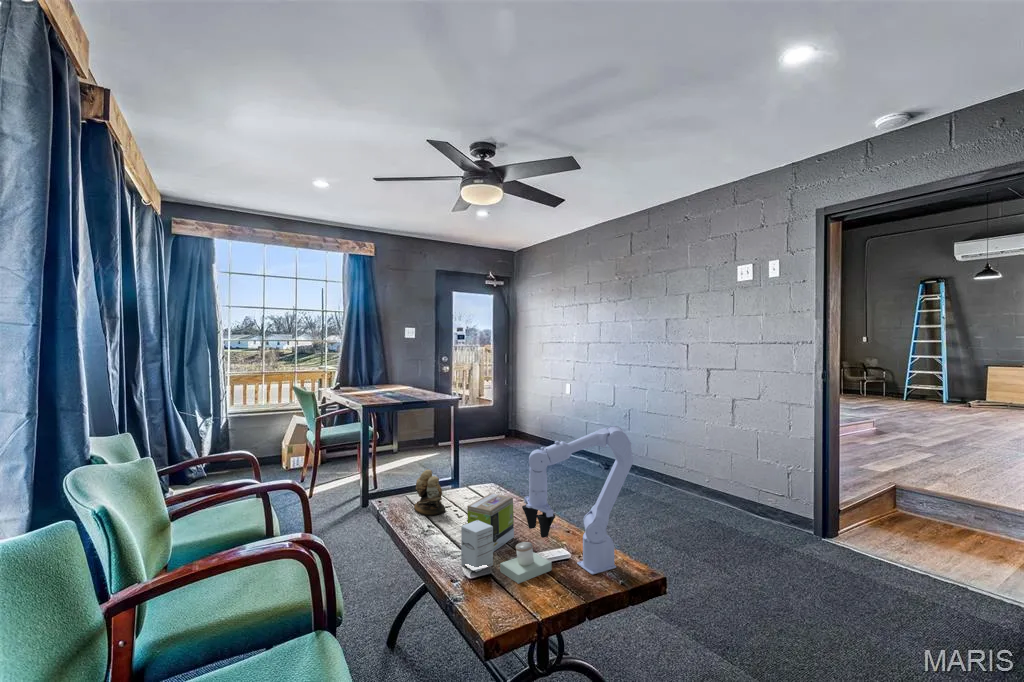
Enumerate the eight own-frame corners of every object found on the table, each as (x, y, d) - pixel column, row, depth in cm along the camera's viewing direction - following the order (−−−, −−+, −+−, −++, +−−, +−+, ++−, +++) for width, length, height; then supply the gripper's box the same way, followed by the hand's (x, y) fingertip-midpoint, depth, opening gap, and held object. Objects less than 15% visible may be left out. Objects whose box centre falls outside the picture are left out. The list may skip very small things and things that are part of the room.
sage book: (532, 560, 153) (532, 551, 153) (551, 571, 146) (551, 562, 146) (499, 572, 145) (499, 563, 145) (518, 585, 138) (518, 575, 138)
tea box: (491, 532, 174) (491, 492, 174) (514, 538, 169) (514, 496, 169) (466, 547, 162) (466, 504, 162) (491, 554, 156) (491, 510, 156)
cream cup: (526, 556, 149) (524, 540, 149) (537, 560, 145) (535, 544, 145) (514, 562, 146) (512, 546, 146) (524, 567, 142) (522, 551, 142)
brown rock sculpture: (452, 513, 194) (452, 472, 193) (425, 520, 187) (425, 477, 187) (433, 500, 208) (433, 462, 208) (408, 506, 202) (407, 466, 202)
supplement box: (460, 565, 149) (460, 525, 149) (478, 557, 154) (478, 519, 154) (475, 573, 144) (475, 532, 144) (493, 565, 149) (493, 525, 149)
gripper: (516, 484, 153) (516, 526, 153) (539, 498, 140) (539, 543, 140) (534, 481, 156) (534, 522, 157) (559, 494, 144) (559, 539, 144)
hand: (538, 532), depth 149 cm, fingers open, 7 cm apart
